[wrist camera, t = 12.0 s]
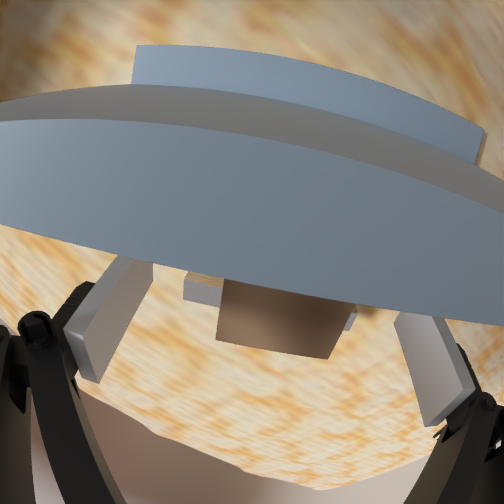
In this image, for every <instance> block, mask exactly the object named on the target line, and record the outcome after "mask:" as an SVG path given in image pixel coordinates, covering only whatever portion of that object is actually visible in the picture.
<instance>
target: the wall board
mask: <svg viewBox="0 0 504 504" xmlns="http://www.w3.org/2000/svg"><path fill="white" fill-rule="evenodd" d="M483 132H484V129H483V128H481V127H479V126H477V125H475V124H474V123H472V122H470V121H468V120H466V119H464V118H462V117H460V116H458V115H456V114H454V113H452V112H450V111H448V110H446V109H444V108H442V107H440V106H437V105H435V104H433V103H431V102H428V101H426V100H424V99H421V98H419V97H417V96H414V95H412V94H409V93H407V92H404V91H402V90H399V89H396V88H394V87H391V86H388V85H385V84H383V83H380V82H377V81H374V80H371V79H368V78H365V77H361V76H358V75H355V74H352V73H348V72H345V71H341V70H338V69H334V68H330V67H326V66H322V65H318V64H314V63H310V62H305V61H301V60H296V59H291V58H286V57H281V56H275V55H270V54H263V53H257V52H250V51H243V50H234V49H225V48H214V47H201V46H181V45H137V47H136V53H135V59H134V66H133V74H132V82H131V84H127V85H111V86H98V87H88V88H79V89H71V90H63V91H56V92H50V93H44V94H38V95H33V96H28V97H23V98H18V99H14V100H9V101H5V102H1V103H0V224H1V225H5V226H8V227H12V228H16V229H19V230H23V231H27V232H30V233H34V234H38V235H42V236H45V237H49V238H53V239H57V240H61V241H65V242H69V243H73V244H76V245H80V246H84V247H88V248H92V249H97V250H101V251H105V252H109V253H113V254H117V255H121V256H126V257H130V258H134V259H138V260H143V261H147V262H151V263H156V264H160V265H164V266H169V267H173V268H178V269H182V270H187V271H191V272H196V273H201V274H205V275H210V276H215V277H219V278H224V279H229V280H234V281H239V282H243V283H248V284H253V285H258V286H263V287H268V288H273V289H278V290H284V291H289V292H294V293H299V294H305V295H310V296H315V297H321V298H326V299H332V300H337V301H343V302H348V303H354V304H360V305H366V306H371V307H377V308H383V309H389V310H395V311H402V312H408V313H414V314H421V315H427V316H434V317H440V318H447V319H454V320H461V321H468V322H475V323H483V324H490V325H498V326H504V181H502V180H501V179H499V178H497V177H496V176H494V175H492V174H491V173H489V172H487V171H485V170H484V169H482V168H480V167H478V166H476V165H474V164H475V161H476V157H477V154H478V151H479V147H480V144H481V140H482V136H483Z"/></svg>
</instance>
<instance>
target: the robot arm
mask: <svg viewBox="0 0 504 504" xmlns="http://www.w3.org/2000/svg"><path fill="white" fill-rule="evenodd" d="M152 282H153V263H151V262H147V261H143V260H138V259H134V258H130V257H126V256H121V255H118V256H117V257H116V258H115V259H114V261H113V262H112V263H111V265H110V266H109V267H108V268H107V270H106V271H105V272H104V273H103V275H102V276H101V277H100V279H99V280H98V281H97V283H92V282H88V281H85V282H84V283H82V284H81V285H79V286H78V287H76V288H75V290H74V291H73V292H72V293H71V295H70V297H68V299H67V300H66V301H65V304H63V305H62V306H61V308H60V309H59V310H58V312H57V313H56V314H55V316H54V317H53V318H52V320H51V318H50V316H49V315H48V314H47V313H45V312H42V311H32V312H30V313H27V314H26V315H24V316H23V317H22V318H21V319H20V321H19V323H18V327H17V329H18V331H19V333H20V336H14V335H10V333H9V331H8V329H7V328H6V327H5V326H3V325H0V504H36V501H35V493H34V485H33V475H32V461H31V434H30V420H31V418H30V417H31V393H32V396H33V401H34V405H35V410H36V415H37V419H38V423H39V427H40V430H41V435H42V439H43V442H44V446H45V449H46V452H47V455H48V459H49V462H50V465H51V468H52V471H53V473H54V476H55V479H56V482H57V484H58V487H59V489H60V492H61V495H62V497H63V500H64V502H65V504H127V503H126V501H125V500H124V498H123V496H122V494H121V492H120V490H119V488H118V486H117V484H116V482H115V480H114V478H113V476H112V474H111V472H110V470H109V468H108V465H107V463H106V461H105V459H104V457H103V454H102V452H101V450H100V447H99V445H98V442H97V440H96V438H95V435H94V433H93V430H92V427H91V425H90V422H89V419H88V416H87V413H86V411H85V408H84V405H83V402H82V399H81V396H80V393H79V389H78V386H77V383H76V380H75V377H74V376H75V374H76V373H77V371H78V369H79V372H80V374H81V377H82V378H84V379H87V380H90V381H92V382H95V383H98V384H99V383H100V381H101V379H102V377H103V375H104V373H105V371H106V369H107V366H108V364H109V362H110V360H111V358H112V356H113V354H114V352H115V351H116V349H117V347H118V345H119V343H120V341H121V339H122V337H123V335H124V333H125V331H126V329H127V327H128V325H129V324H130V322H131V320H132V318H133V316H134V314H135V312H136V311H137V309H138V307H139V305H140V303H141V301H142V300H143V298H144V296H145V294H146V292H147V291H148V289H149V287H150V285H151V284H152ZM394 326H395V329H396V332H397V335H398V338H399V341H400V344H401V347H402V350H403V353H404V356H405V359H406V362H407V365H408V368H409V372H410V375H411V378H412V382H413V385H414V389H415V392H416V396H417V399H418V403H419V407H420V411H421V414H422V418H423V422H424V426H425V427H428V426H438V425H439V424H440V423H441V422H442V421H443V420H444V419H445V418H446V420H447V424H446V425H445V426H444V427H443V428H442V429H441V430H439V431H438V432H437V433H436V434H435V435H434V436H433V438H435V437H437V436H438V435H439V434H440V436H439V438H438V439H437V443H436V445H435V447H434V449H433V451H432V453H431V455H430V457H429V459H428V461H427V463H426V465H425V467H424V469H423V471H422V473H421V474H420V477H419V478H418V480H417V482H416V483H415V485H414V487H413V489H412V490H411V492H410V494H409V496H408V497H407V499H406V500H405V502H404V504H504V406H500V405H497V403H496V401H495V399H494V398H493V396H492V395H490V394H489V393H487V392H482V390H481V388H480V385H479V383H478V381H477V378H476V376H475V373H474V371H473V369H472V368H471V364H470V362H468V358H467V355H466V353H465V351H464V350H463V349H462V348H461V346H460V345H459V344H457V343H456V342H455V340H454V338H453V336H452V334H451V332H450V330H449V328H448V326H447V324H446V322H445V320H444V318H440V317H434V316H427V315H421V314H414V313H408V312H402V311H400V313H399V315H398V316H397V318H396V320H395V322H394ZM500 440H501V446H500V447H498V448H497V449H496V444H497V443H498V442H499V441H500Z"/></svg>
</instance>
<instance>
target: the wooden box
mask: <svg viewBox="0 0 504 504" xmlns="http://www.w3.org/2000/svg"><path fill="white" fill-rule="evenodd" d="M354 306H355V304H354V303H348V302H343V301H337V300H332V299H326V298H321V297H315V296H310V295H305V294H299V293H294V292H289V291H284V290H278V289H273V288H268V287H263V286H258V285H253V284H248V283H243V282H239V281H234V280H229V279H224V283H223V290H222V297H221V304H220V311H219V318H218V325H217V332H216V339H215V340H219V341H223V342H228V343H233V344H238V345H243V346H248V347H253V348H258V349H264V350H269V351H275V352H281V353H287V354H293V355H300V356H306V357H313V358H320V359H328V358H329V356H330V354H331V352H332V351H333V349H334V347H335V345H336V343H337V341H338V339H339V337H340V335H341V333H342V331H343V329H344V327H345V325H346V323H347V321H348V319H349V317H350V315H351V313H352V311H353V308H354Z"/></svg>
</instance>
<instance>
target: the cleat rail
mask: <svg viewBox="0 0 504 504" xmlns="http://www.w3.org/2000/svg"><path fill="white" fill-rule="evenodd" d="M223 283H224V278H219V277H215V276H210V275H205V274H201V273H196V272H191V271H188V273H187V275H186V277H185V279H184V291H183V299H184V300H188V301H192V302H197V303H201V304H206V305H210V306H215V307H219V308H220V304H221V297H222V290H223ZM357 314H358V313H357V309H356V305H355V306H354V308H353V311H352V313H351V315H350V317H349V319H348V321H347V323H346V325H345V327H344V329H343V330H345V331H349V330H350V328H351V326H352V324H353V322H354V320H355V318H356V316H357Z"/></svg>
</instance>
